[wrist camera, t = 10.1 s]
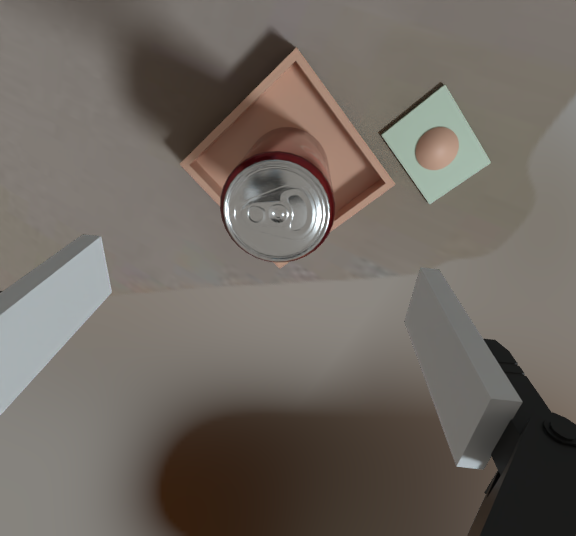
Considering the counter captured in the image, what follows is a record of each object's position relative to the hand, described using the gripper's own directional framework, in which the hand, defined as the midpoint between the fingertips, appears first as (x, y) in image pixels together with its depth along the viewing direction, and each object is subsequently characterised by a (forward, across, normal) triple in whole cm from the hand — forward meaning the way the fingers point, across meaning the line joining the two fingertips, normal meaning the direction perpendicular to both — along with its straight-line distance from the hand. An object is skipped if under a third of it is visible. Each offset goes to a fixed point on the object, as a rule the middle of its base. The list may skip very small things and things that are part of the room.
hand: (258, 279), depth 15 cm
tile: (+20, +13, +3) cm, 24 cm away
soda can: (+20, 0, 0) cm, 20 cm away
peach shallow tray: (+20, 0, 0) cm, 21 cm away
